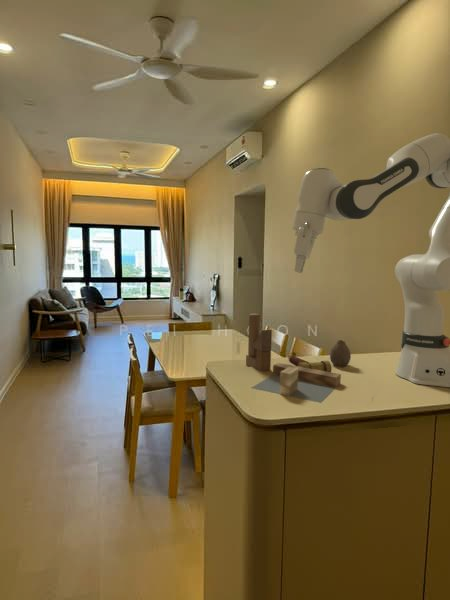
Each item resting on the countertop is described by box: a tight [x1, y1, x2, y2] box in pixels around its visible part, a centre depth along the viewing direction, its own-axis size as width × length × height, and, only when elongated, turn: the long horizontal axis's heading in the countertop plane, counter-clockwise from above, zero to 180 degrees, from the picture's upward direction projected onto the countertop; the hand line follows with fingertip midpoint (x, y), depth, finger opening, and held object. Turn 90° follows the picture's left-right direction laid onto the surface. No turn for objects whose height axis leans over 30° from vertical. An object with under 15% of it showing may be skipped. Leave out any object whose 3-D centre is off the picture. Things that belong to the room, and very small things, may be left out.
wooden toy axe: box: [245, 313, 273, 372], centre depth 131 cm, size 4×11×18 cm, turn 25°
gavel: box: [287, 355, 333, 373], centre depth 135 cm, size 21×5×10 cm
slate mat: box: [251, 374, 337, 404], centre depth 112 cm, size 20×14×1 cm
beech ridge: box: [279, 367, 298, 397], centre depth 108 cm, size 3×6×6 cm, turn 149°
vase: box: [329, 339, 352, 368], centre depth 138 cm, size 7×7×9 cm
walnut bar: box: [272, 362, 342, 388], centre depth 120 cm, size 20×4×4 cm, turn 56°
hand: (298, 272), depth 116 cm, fingers open, 8 cm apart
